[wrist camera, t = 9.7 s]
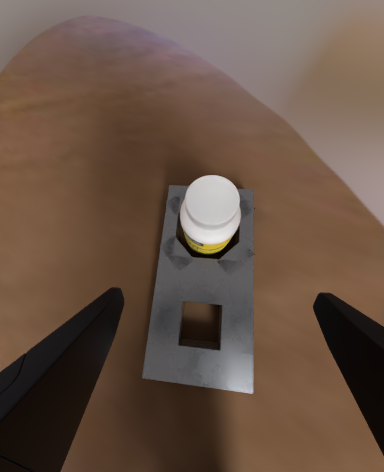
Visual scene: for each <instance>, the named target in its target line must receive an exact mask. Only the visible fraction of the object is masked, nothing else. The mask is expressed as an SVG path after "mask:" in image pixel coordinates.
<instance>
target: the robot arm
mask: <svg viewBox="0 0 384 472" xmlns="http://www.w3.org/2000/svg"><path fill="white" fill-rule="evenodd" d="M123 306H124V297H123V294H122V290H121V288H114V287H113V288H110V289H109V290H107V291H106V292H105V293H103V294H102V295H101V296H99V297H98V298H97V299H96V300H94V301H93V302H92V303H90V304H89V305H88V306H86V307H85V308H84V309H82V310H81V311H80V312H78V313H77V314H76V315H75V316H73V317H72V318H71V319H69V320H68V321H67V322H65V323H64V324H63V325H61V326H60V327H59V328H58V329H56V330H55V331H54V332H52V333H51V334H50V335H48V336H47V337H46V338H44V339H43V340H42V341H41V342H39V343H38V344H37V345H35V346H34V347H33V348H31V349H30V350H29V351H28V352H27V353H25V354H23V355H22V356H21V357H19V358H18V359H17V360H16V361H14V362H13V363H12V364H10V365H9V366H8V367H6V368H5V369H4V370H2V371H1V372H0V472H60V471H61V469H62V466H63V464H64V461H65V459H66V456H67V454H68V451H69V449H70V446H71V444H72V441H73V439H74V437H75V434H76V432H77V429H78V427H79V424H80V422H81V419H82V417H83V414H84V412H85V409H86V407H87V404H88V402H89V399H90V397H91V394H92V392H93V389H94V387H95V384H96V382H97V379H98V377H99V375H100V372H101V370H102V367H103V365H104V362H105V360H106V357H107V355H108V352H109V350H110V347H111V345H112V342H113V340H114V337H115V334H116V330H117V327H118V324H119V320H120V317H121V313H122V310H123ZM313 310H314V312H315V315H316V318H317V320H318V323H319V325H320V328H321V330H322V333H323V335H324V338H325V340H326V343H327V345H328V347H329V349H330V351H331V353H332V355H333V357H334V359H335V361H336V363H337V365H338V367H339V369H340V371H341V373H342V375H343V377H344V379H345V381H346V383H347V385H348V387H349V389H350V391H351V393H352V394H353V396H354V398H355V400H356V402H357V404H358V406H359V408H360V410H361V412H362V414H363V416H364V418H365V420H366V422H367V424H368V426H369V428H370V430H371V432H372V434H373V436H374V438H375V440H376V442H377V444H378V446H379V448H380V450H381V451H382V453H383V455H384V327H383V326H382V325H380V324H378V323H377V322H375V321H374V320H372V319H371V318H369V317H367V316H366V315H364V314H363V313H361V312H360V311H358V310H357V309H355V308H353V307H352V306H350V305H349V304H347V303H346V302H344V301H342V300H341V299H339V298H338V297H336V296H335V295H333V294H331V293H319V294H318V296H317V298H316V300H315V302H314V305H313Z"/></svg>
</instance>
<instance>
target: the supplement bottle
mask: <svg viewBox="0 0 384 472" xmlns="http://www.w3.org/2000/svg"><path fill="white" fill-rule="evenodd" d="M239 203H240V197H239V193H238V191H237V189H236V187H235V186H234V184H233V183H232V182H231V181H229V180H228V179H226V178H224V177H221V176H217V175H207V176H203V177H200V178H198V179H197V180H195V181H194V182H193V183H192V184H191V185H190V186H189V188H188V189H187V191H186V195H185V199H184V201H183V203H182V206H181V209H180V221H181V225H182V229H183V232H184V235H185V238H186V241H187V243H188V245H189V246H190V248H191V249H192V250H194V251H195V252H197V253H199V254H202V255H213V254H216V253H218V252H220V251H221V250H222V249H223V248H224V247H225V246H226V245H227V243H228V242H229V241H230V239H231V238H232V236H233V235H234V233H235V232H236V230H237V228H238V226H239V224H240V219H241V210H240V206H239Z"/></svg>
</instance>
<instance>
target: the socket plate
mask: <svg viewBox="0 0 384 472" xmlns="http://www.w3.org/2000/svg"><path fill="white" fill-rule="evenodd" d="M189 186H190V185H188V186H178V185H169V191H168V198H167V202H166V212H165V219H164V226H163V234H162V241H161V245H160V246H159V247H160V255H159V262H158V269H157V276H156V283H155V290H154V297H153V304H152V311H151V318H150V325H149V332H148V339H147V346H146V353H145V360H144V367H143V374H142V378H143V379H151V380H158V381H165V382H172V383H180V384H187V385H194V386H201V387H209V388H216V389H223V390H230V391H237V392H245V393H252V394H253V255H255V254H254V253H253V234H254V209H255V208H254V190H250V189H237V191H238V193H239V197H240V203H239V206H240V210H241V219H240V224H239V226H238V228H237V230H236V233H235V246H234V247H233V248H232V249H231V250H230V251H228V252H227V253H226V254H225V255H224V256H223V257H221V258H220V259H208V258H197V257H192V256H191V255H190V254H189V253H188V252H187V250H186V249H185V248H184V247H183V246H182V244H181V243H180V242H179V241H178V240H179V231H180V223H181V221H180V209H181V206H182V203H183V201H184V199H185V195H186V191H187V189H188V188H189ZM184 301H188V302H197V303H207V304H217V305H220V311H219V332H218V342H211V341H203V340H194V339H186V338H181V332H182V322H183V311H184Z"/></svg>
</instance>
